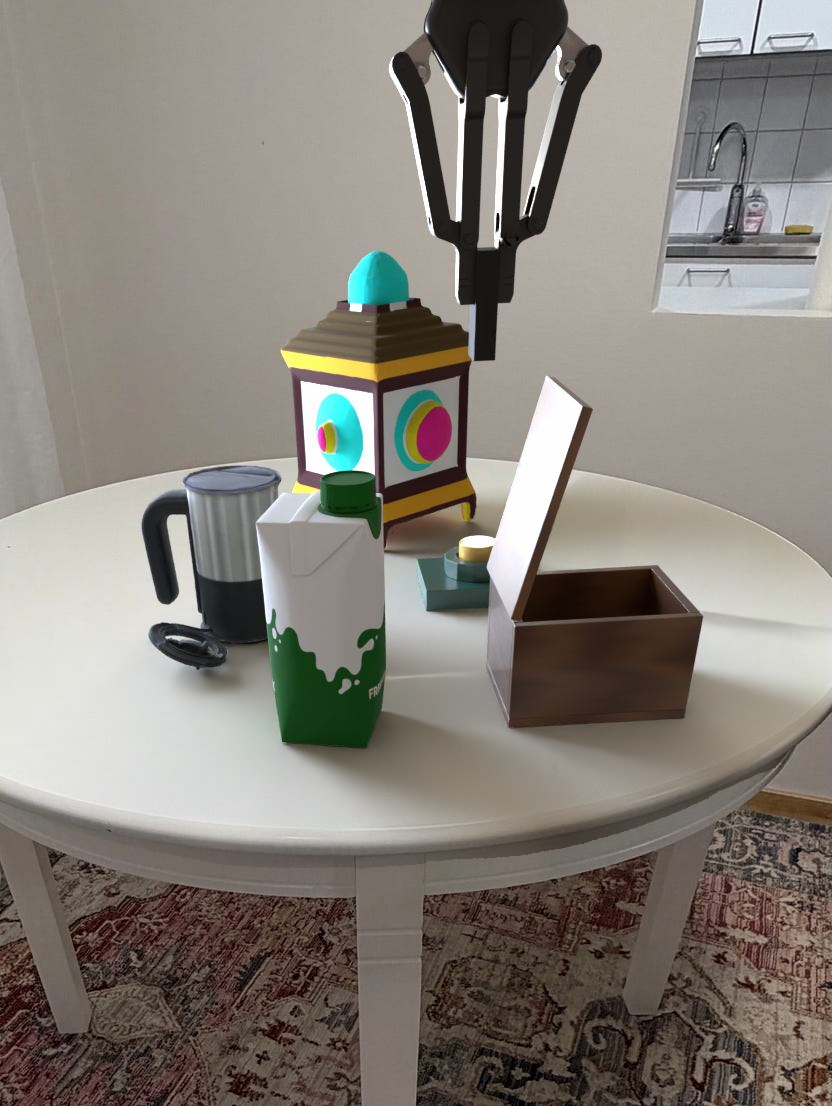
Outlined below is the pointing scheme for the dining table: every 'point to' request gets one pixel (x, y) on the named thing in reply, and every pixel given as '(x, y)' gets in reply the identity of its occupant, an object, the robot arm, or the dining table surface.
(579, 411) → the chest lid
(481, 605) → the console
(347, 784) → the dining table surface
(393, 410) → the decorative lantern
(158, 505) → the milk frother
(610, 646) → the chest
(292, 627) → the milk carton
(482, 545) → the button
